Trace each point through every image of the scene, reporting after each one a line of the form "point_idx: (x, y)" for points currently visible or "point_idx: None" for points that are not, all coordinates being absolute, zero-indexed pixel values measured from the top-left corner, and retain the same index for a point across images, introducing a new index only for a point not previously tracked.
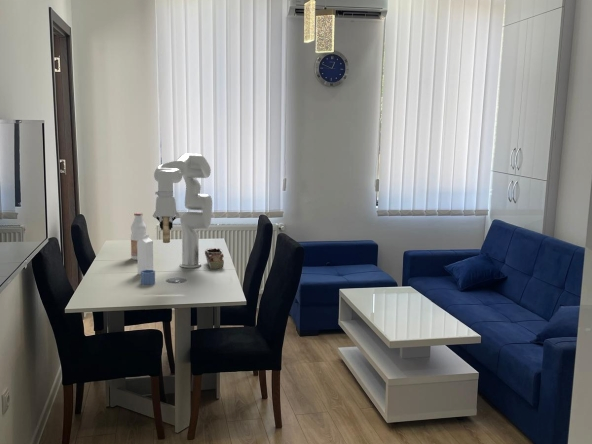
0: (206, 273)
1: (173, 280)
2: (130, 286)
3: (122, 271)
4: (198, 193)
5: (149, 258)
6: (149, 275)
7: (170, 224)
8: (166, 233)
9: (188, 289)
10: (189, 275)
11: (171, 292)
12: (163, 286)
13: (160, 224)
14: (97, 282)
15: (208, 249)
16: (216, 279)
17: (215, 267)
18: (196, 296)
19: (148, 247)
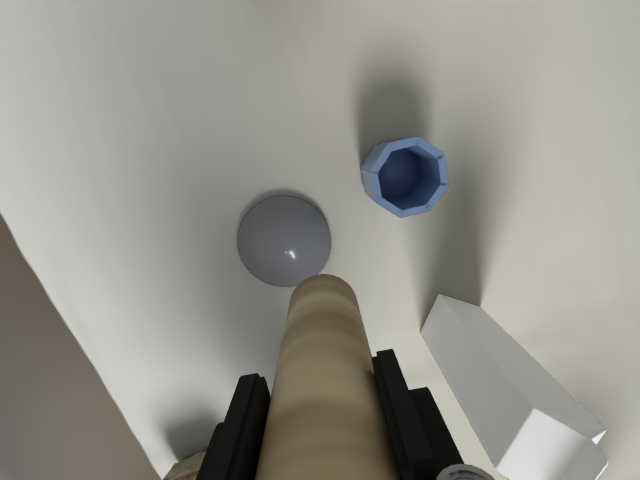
0: (212, 387)
1: (296, 240)
2: (463, 125)
3: (559, 347)
4: None
5: (460, 359)
6: (387, 143)
7: (216, 450)
8: (307, 325)
9: (187, 134)
10: (267, 347)
11: (243, 64)
12: (315, 158)
13: (436, 433)
14: (631, 158)
15: None
16: (137, 313)
17: (200, 454)
18: (102, 20)
19: (496, 400)
